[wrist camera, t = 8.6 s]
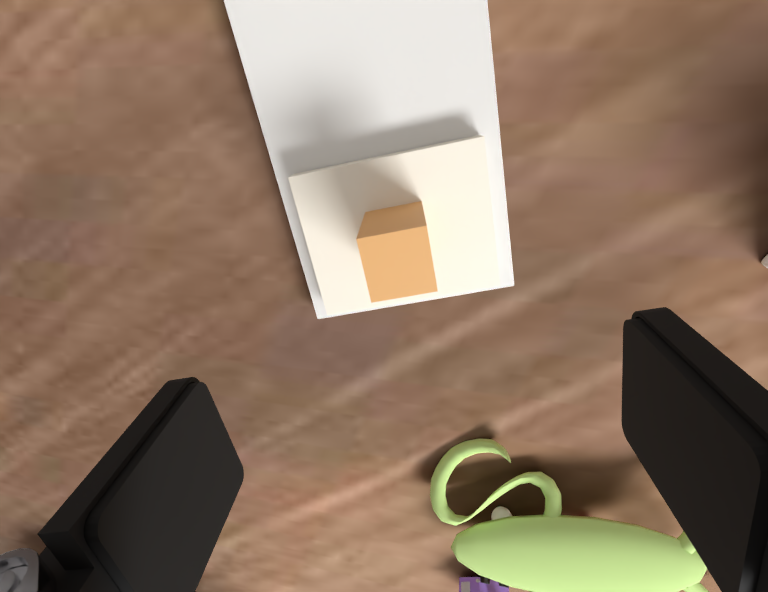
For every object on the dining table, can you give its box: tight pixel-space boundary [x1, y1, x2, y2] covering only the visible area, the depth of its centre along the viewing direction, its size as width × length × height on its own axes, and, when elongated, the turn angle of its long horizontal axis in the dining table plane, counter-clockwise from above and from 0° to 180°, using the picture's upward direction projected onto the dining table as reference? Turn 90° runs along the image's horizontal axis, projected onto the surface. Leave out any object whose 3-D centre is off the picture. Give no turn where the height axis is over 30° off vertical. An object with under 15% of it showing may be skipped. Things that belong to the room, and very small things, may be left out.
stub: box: [288, 135, 500, 315], centre depth 22 cm, size 10×8×6 cm
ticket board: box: [224, 0, 514, 319], centre depth 21 cm, size 12×29×2 cm, turn 12°
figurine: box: [430, 439, 709, 592], centre depth 33 cm, size 18×27×6 cm
